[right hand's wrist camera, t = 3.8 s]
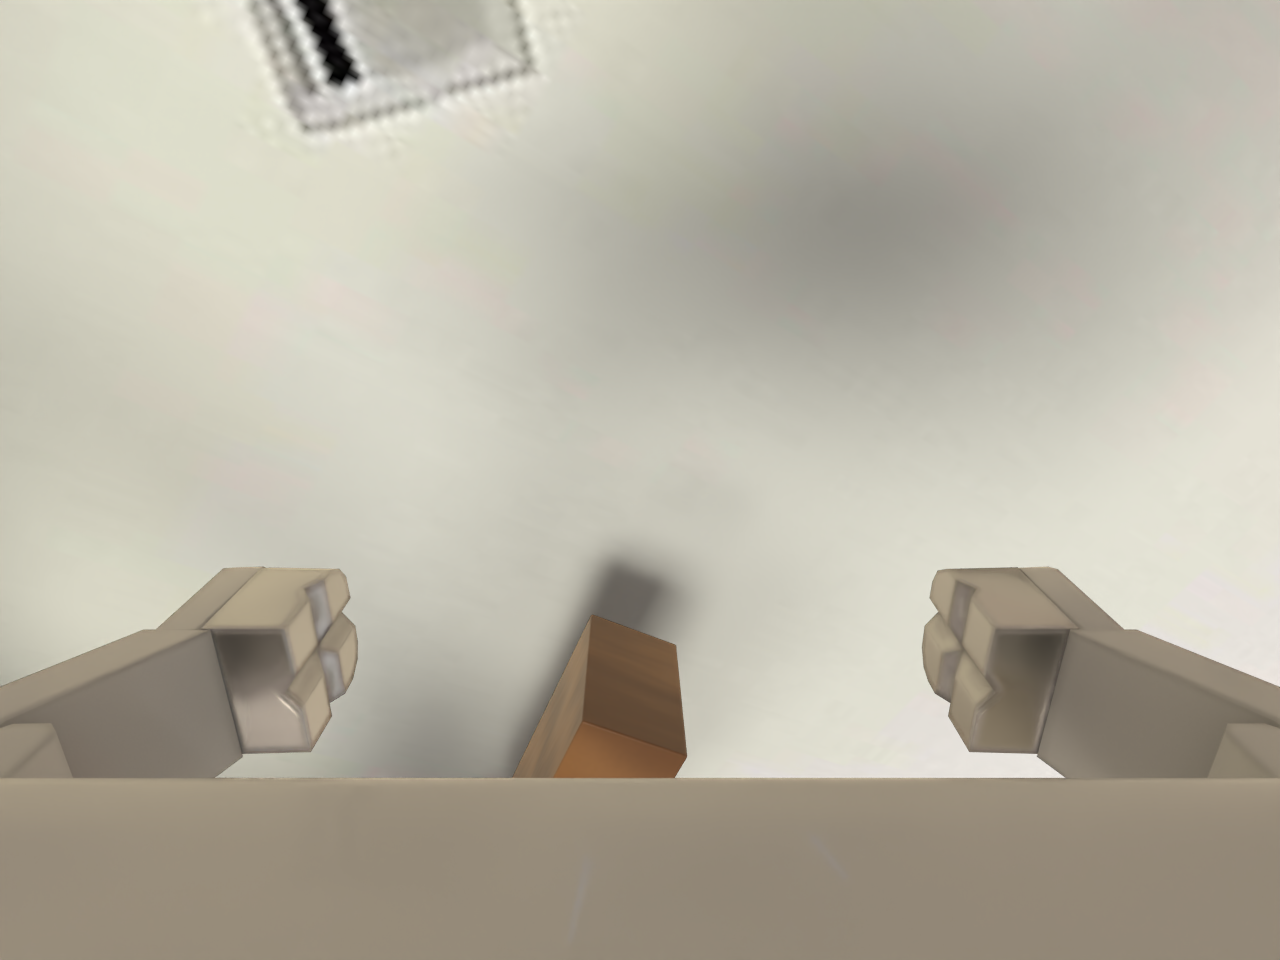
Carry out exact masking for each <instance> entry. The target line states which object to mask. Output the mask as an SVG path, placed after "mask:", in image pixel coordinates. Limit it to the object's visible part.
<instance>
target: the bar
mask: <svg viewBox="0 0 1280 960" xmlns="http://www.w3.org/2000/svg"><path fill="white" fill-rule="evenodd" d="M686 758H687V750H686V740H685V730H684V720H683V710H682V700H681V690H680V680H679V670H678V660H677V650H676V645H675V644H672V643H669V642H666V641H664V640H661V639H658V638H655V637H653V636H650V635H647V634H644V633H642V632H639V631H636V630H634V629H631V628H628V627H625V626H623V625H620V624H617V623H614V622H612V621H609V620H606V619H604V618H601V617H598V616H595V615H591V616H590V619H589V621H588V623H587V625H586V627H585V629H584V631H583V633H582V635H581V637H580V639H579V641H578V643H577V645H576V647H575V649H574V651H573V654H572V656H571V658H570V660H569V662H568V664H567V666H566V668H565V670H564V672H563V674H562V676H561V678H560V680H559V682H558V684H557V686H556V689H555V691H554V693H553V695H552V697H551V699H550V701H549V703H548V705H547V707H546V709H545V711H544V713H543V715H542V717H541V719H540V721H539V723H538V726H537V728H536V730H535V732H534V734H533V736H532V738H531V740H530V742H529V744H528V746H527V748H526V750H525V752H524V754H523V756H522V758H521V761H520V763H519V765H518V767H517V769H516V771H515V773H514V775H513V777H512V778H675V776H676V775H677V773H678V771H679V770H680V768H681V766H682V764H683V763H684V761H685V759H686Z"/></svg>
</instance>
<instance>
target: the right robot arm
mask: <svg viewBox="0 0 1280 960" xmlns="http://www.w3.org/2000/svg"><path fill="white" fill-rule="evenodd" d="M349 599H350V593H349V588H348V583H347V579H346V576H345V575H344V574H343V572H342V571H341V570H340V569H320V568H265V567H236V568H224V569H222V570H221V571H220V572H219V573H218V574H217V575H216V576H214V577H213V578H212V579H211V580H210V581H209V582H208V583H207V584H206V585H205V586H203V587H202V588H201V589H200V590H199V591H198V592H197V593H196V594H195V595H193V596H192V597H191V598H190V599H189V600H188V601H187V602H186V603H185V604H184V605H182V606H181V607H180V608H179V609H178V610H177V611H176V612H175V613H174V614H172V615H171V616H170V617H169V618H168V619H167V620H166V621H165V622H164V623H163V624H161V625H160V626H159V627H158V628H157V629H156V630H141V631H139V632H136V633H134V634H131V635H129V636H126V637H124V638H121V639H119V640H116V641H114V642H111V643H109V644H106V645H104V646H101V647H99V648H96V649H94V650H91V651H89V652H86V653H84V654H81V655H79V656H76V657H74V658H71V659H69V660H66V661H64V662H61V663H59V664H56V665H54V666H51V667H49V668H46V669H44V670H41V671H39V672H36V673H34V674H31V675H29V676H26V677H24V678H21V679H19V680H16V681H14V682H11V683H9V684H6V685H4V686H1V687H0V960H1280V687H1279V686H1276V685H1274V684H1271V683H1269V682H1266V681H1264V680H1261V679H1259V678H1256V677H1254V676H1251V675H1249V674H1246V673H1244V672H1241V671H1239V670H1236V669H1234V668H1231V667H1229V666H1226V665H1224V664H1221V663H1219V662H1216V661H1214V660H1211V659H1209V658H1206V657H1204V656H1201V655H1199V654H1196V653H1194V652H1191V651H1189V650H1186V649H1184V648H1181V647H1179V646H1176V645H1174V644H1171V643H1169V642H1166V641H1164V640H1161V639H1159V638H1156V637H1154V636H1151V635H1149V634H1146V633H1144V632H1141V631H1139V630H1124V629H1123V628H1122V627H1121V626H1120V625H1119V624H1118V623H1116V622H1115V621H1114V620H1113V619H1112V618H1111V617H1110V616H1109V615H1108V614H1107V613H1105V612H1104V611H1103V610H1102V609H1101V608H1100V607H1099V606H1098V605H1097V604H1096V603H1094V602H1093V601H1092V600H1091V599H1090V598H1089V597H1088V596H1087V595H1086V594H1085V593H1083V592H1082V591H1081V590H1080V589H1079V588H1078V587H1077V586H1076V585H1075V584H1073V583H1072V582H1071V581H1070V580H1069V579H1068V578H1067V577H1066V576H1065V575H1064V574H1062V573H1061V572H1060V571H1059V570H1058V569H1055V568H1051V567H1027V568H1018V567H1010V568H968V569H944V570H938V571H937V573H936V575H935V577H934V579H933V582H932V587H931V592H930V599H931V601H932V603H933V604H934V606H935V607H936V609H937V610H938V613H937V614H936V615H935V616H934V617H933V618H932V619H931V620H930V621H929V622H928V623H927V624H926V625H925V627H924V635H923V642H922V654H923V665H924V670H925V673H926V676H927V679H928V682H929V683H930V685H931V687H932V689H933V691H934V693H935V694H937V695H938V696H940V697H942V698H943V699H945V700H946V701H948V702H950V709H949V714H948V717H949V718H950V720H951V722H952V723H953V725H954V727H955V729H956V730H957V732H958V734H959V735H960V737H961V739H962V740H963V742H964V744H965V745H966V747H967V749H968V750H969V752H991V753H1028V754H1038V755H1037V757H1038V758H1040V759H1041V760H1042V761H1044V762H1045V763H1046V764H1048V765H1049V766H1050V767H1052V768H1053V769H1054V770H1056V771H1057V772H1059V773H1060V774H1061V775H1063V776H1064V777H1065V778H215V777H216V776H218V775H219V774H220V773H222V772H223V771H224V770H226V769H227V768H228V767H230V766H231V765H233V764H234V763H235V762H237V761H238V760H239V759H241V758H242V757H243V755H242V754H252V753H288V752H311V751H312V749H313V747H314V746H315V744H316V742H317V740H318V739H319V737H320V735H321V734H322V732H323V730H324V729H325V727H326V725H327V723H328V722H329V720H330V718H331V717H332V714H331V709H330V702H332V701H334V700H335V699H337V698H338V697H340V696H342V695H343V694H345V693H346V691H347V689H348V687H349V685H350V683H351V681H352V680H353V676H354V672H355V668H356V664H357V659H358V640H357V633H356V627H355V625H354V624H353V623H352V622H351V621H350V620H349V619H348V618H347V617H346V616H345V615H344V614H343V613H342V610H343V609H344V607H345V606H346V604H347V603H348V601H349Z"/></svg>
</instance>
